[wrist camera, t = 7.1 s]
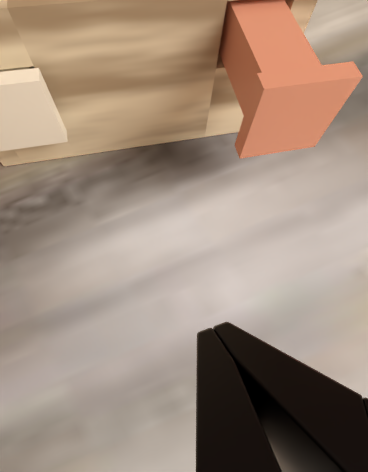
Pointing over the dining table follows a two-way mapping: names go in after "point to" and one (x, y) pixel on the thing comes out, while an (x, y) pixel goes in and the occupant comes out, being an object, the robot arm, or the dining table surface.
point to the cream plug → (27, 111)
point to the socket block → (125, 70)
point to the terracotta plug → (279, 79)
